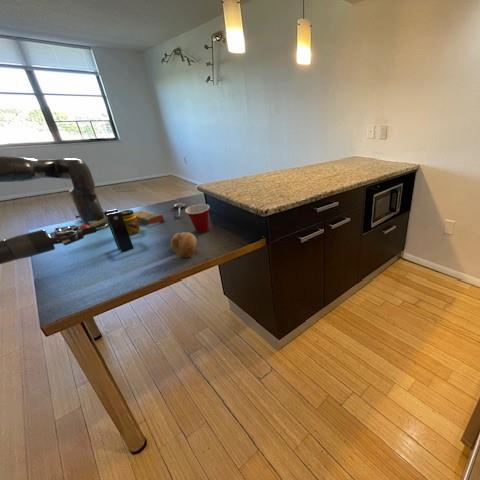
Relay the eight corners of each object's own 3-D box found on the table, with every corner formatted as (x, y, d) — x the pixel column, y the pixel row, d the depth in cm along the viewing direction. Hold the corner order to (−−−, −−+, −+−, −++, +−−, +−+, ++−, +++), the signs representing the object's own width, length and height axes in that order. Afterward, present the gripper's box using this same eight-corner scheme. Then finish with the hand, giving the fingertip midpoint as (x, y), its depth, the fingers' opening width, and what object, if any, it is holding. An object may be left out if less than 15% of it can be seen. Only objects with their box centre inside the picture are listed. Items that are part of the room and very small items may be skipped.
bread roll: (172, 262, 102) (167, 244, 98) (174, 245, 114) (169, 229, 110) (199, 257, 105) (195, 239, 102) (198, 241, 117) (194, 225, 114)
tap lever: (83, 237, 95) (76, 229, 93) (81, 234, 97) (74, 226, 95) (121, 219, 103) (115, 211, 100) (118, 217, 105) (113, 209, 102)
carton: (145, 216, 144) (143, 209, 142) (164, 221, 137) (162, 214, 136) (129, 221, 137) (127, 214, 135) (149, 227, 131) (147, 219, 129)
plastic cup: (185, 233, 125) (179, 209, 120) (202, 224, 134) (197, 202, 129) (202, 237, 122) (197, 213, 116) (218, 228, 131) (214, 205, 125)
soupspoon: (187, 206, 161) (175, 207, 159) (185, 200, 159) (173, 202, 157) (185, 217, 143) (172, 219, 140) (184, 211, 141) (170, 213, 139)
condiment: (143, 236, 122) (134, 212, 116) (121, 240, 117) (111, 216, 112) (142, 230, 127) (134, 207, 122) (121, 235, 123) (112, 211, 117)
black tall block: (113, 260, 102) (95, 219, 94) (106, 253, 108) (89, 213, 99) (146, 249, 110) (133, 210, 102) (139, 243, 116) (126, 205, 108)
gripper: (27, 240, 81) (95, 223, 92) (23, 228, 89) (85, 213, 101) (39, 261, 84) (103, 241, 96) (34, 247, 93) (93, 231, 104)
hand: (94, 227), depth 98 cm, fingers closed on tap lever, 3 cm apart
